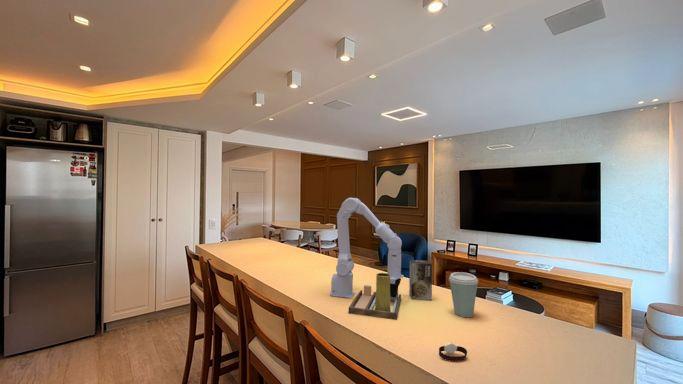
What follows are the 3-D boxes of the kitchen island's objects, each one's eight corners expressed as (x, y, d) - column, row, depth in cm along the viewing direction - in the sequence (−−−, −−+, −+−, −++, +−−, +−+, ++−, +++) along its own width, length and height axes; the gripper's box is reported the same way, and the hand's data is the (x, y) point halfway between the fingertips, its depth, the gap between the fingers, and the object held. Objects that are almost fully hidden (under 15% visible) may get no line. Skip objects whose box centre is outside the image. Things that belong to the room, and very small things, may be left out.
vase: (372, 312, 108) (373, 275, 109) (377, 307, 114) (378, 271, 114) (387, 316, 106) (388, 277, 106) (392, 310, 111) (393, 273, 111)
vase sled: (368, 314, 106) (368, 298, 107) (376, 297, 126) (376, 283, 126) (393, 317, 104) (394, 301, 104) (398, 299, 123) (398, 286, 123)
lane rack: (348, 313, 107) (348, 307, 107) (360, 295, 128) (360, 290, 128) (396, 319, 102) (396, 313, 102) (401, 299, 123) (401, 294, 124)
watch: (462, 353, 81) (462, 340, 81) (470, 362, 76) (470, 349, 76) (436, 353, 81) (436, 340, 81) (442, 362, 76) (442, 349, 76)
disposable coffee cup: (481, 321, 103) (482, 279, 103) (450, 318, 105) (451, 277, 106) (474, 310, 113) (474, 272, 114) (446, 307, 116) (446, 270, 116)
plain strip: (352, 311, 108) (352, 299, 108) (362, 295, 127) (362, 284, 127) (364, 313, 107) (364, 300, 107) (372, 296, 126) (373, 285, 126)
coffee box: (428, 295, 130) (429, 260, 130) (432, 300, 123) (432, 263, 124) (408, 294, 131) (409, 259, 131) (410, 299, 124) (411, 262, 125)
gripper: (402, 269, 115) (402, 302, 115) (404, 261, 129) (404, 292, 129) (385, 267, 117) (384, 300, 117) (389, 260, 131) (388, 290, 131)
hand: (393, 296), depth 123 cm, fingers closed on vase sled, 2 cm apart
